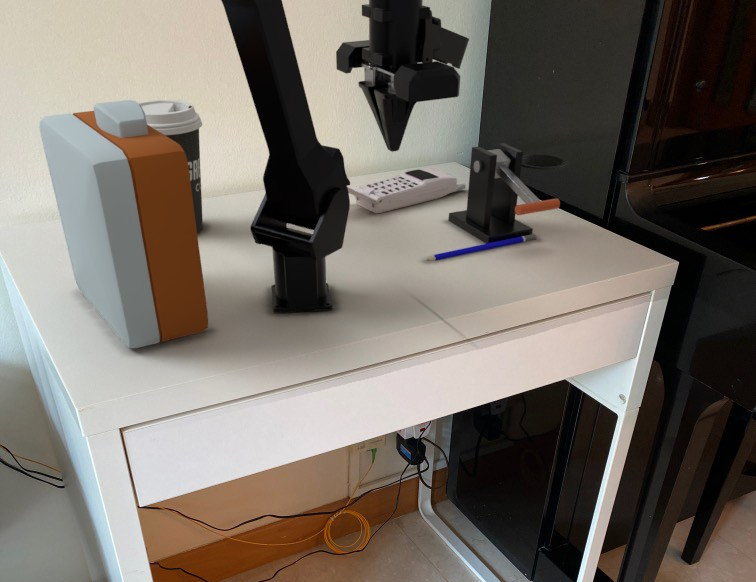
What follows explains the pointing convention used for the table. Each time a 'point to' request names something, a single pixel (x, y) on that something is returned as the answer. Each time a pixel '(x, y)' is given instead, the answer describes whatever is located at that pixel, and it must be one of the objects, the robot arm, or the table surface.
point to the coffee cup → (180, 139)
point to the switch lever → (521, 188)
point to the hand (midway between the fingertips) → (393, 150)
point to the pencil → (481, 247)
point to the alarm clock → (128, 221)
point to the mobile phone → (405, 190)
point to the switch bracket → (491, 199)
